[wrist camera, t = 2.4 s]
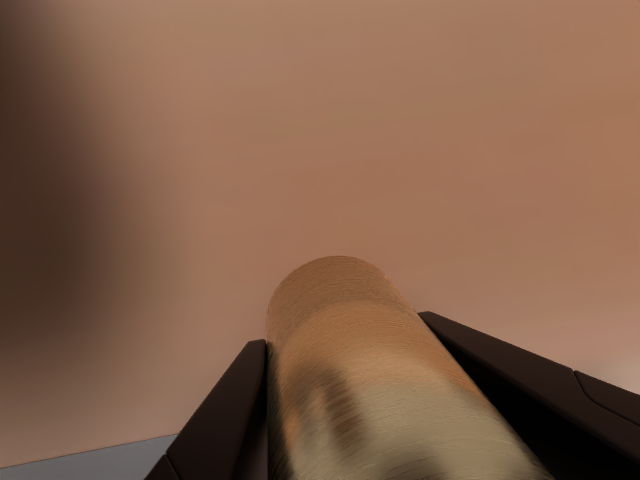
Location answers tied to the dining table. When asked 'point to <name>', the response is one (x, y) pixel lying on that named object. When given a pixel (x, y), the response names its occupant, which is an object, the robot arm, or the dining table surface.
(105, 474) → the base
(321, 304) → the cell bronze
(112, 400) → the dining table surface
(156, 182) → the dining table surface
